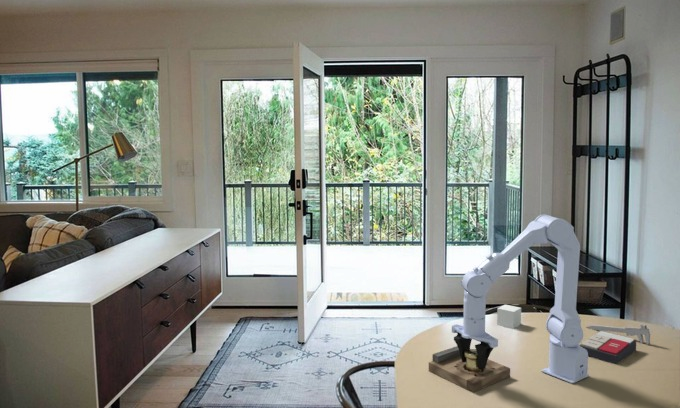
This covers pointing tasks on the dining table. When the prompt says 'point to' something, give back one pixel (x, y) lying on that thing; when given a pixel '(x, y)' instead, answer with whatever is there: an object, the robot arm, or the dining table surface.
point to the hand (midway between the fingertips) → (473, 364)
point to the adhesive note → (509, 316)
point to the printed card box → (609, 347)
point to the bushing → (471, 360)
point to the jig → (455, 370)
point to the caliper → (626, 331)
